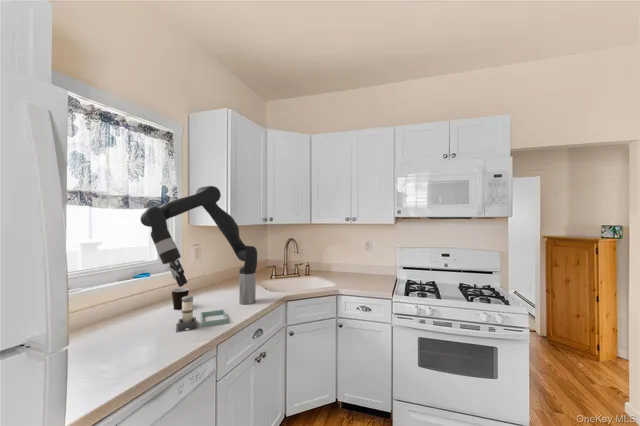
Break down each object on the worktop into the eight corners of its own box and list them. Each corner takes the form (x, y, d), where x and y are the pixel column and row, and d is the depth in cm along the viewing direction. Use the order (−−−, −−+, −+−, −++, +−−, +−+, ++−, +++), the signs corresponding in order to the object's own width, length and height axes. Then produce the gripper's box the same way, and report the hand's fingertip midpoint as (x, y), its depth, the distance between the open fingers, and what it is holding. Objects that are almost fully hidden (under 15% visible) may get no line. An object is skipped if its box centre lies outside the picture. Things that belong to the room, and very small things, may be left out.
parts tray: (200, 318, 145) (200, 312, 145) (223, 315, 150) (223, 309, 150) (202, 328, 131) (202, 322, 131) (227, 325, 136) (227, 318, 136)
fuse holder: (176, 325, 136) (176, 317, 136) (197, 322, 139) (197, 315, 140) (175, 334, 125) (175, 326, 125) (198, 331, 129) (198, 323, 129)
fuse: (181, 325, 133) (181, 296, 134) (192, 323, 135) (192, 295, 135) (181, 328, 129) (181, 299, 129) (193, 327, 131) (193, 297, 131)
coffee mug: (181, 310, 157) (182, 292, 157) (167, 310, 159) (168, 291, 159) (195, 304, 169) (195, 287, 169) (182, 303, 170) (182, 286, 170)
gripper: (179, 244, 123) (195, 279, 122) (174, 250, 134) (189, 282, 134) (160, 251, 119) (176, 287, 118) (157, 257, 130) (172, 290, 129)
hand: (183, 285), depth 126 cm, fingers open, 8 cm apart
